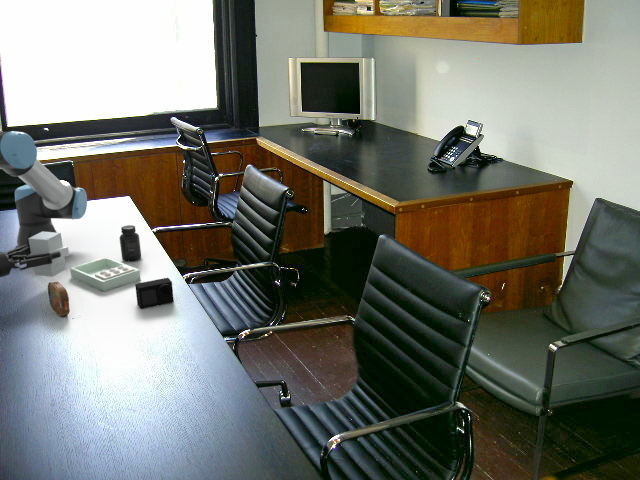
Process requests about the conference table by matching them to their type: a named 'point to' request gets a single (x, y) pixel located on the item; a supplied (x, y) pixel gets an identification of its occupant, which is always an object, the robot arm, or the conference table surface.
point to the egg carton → (113, 272)
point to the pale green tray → (88, 271)
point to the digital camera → (154, 293)
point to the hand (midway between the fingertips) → (59, 247)
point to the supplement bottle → (130, 244)
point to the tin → (58, 298)
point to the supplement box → (43, 245)
